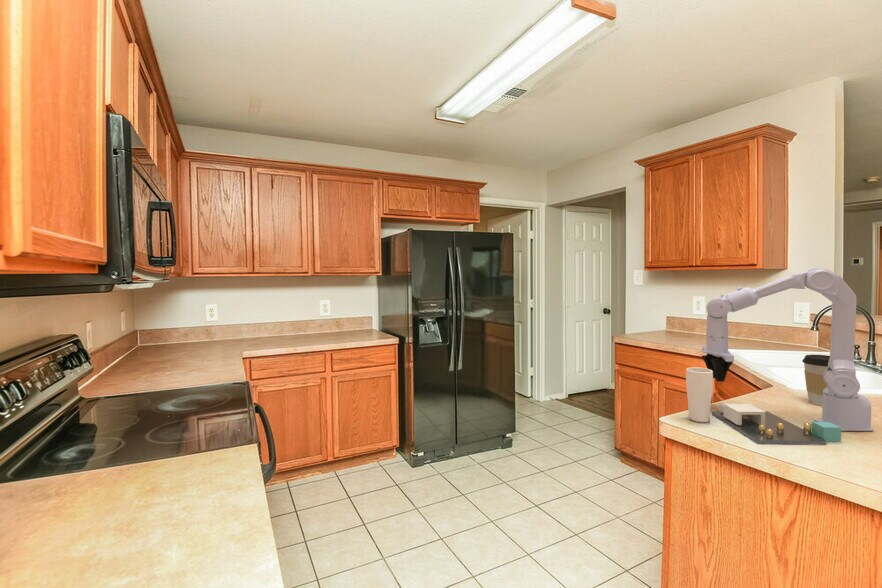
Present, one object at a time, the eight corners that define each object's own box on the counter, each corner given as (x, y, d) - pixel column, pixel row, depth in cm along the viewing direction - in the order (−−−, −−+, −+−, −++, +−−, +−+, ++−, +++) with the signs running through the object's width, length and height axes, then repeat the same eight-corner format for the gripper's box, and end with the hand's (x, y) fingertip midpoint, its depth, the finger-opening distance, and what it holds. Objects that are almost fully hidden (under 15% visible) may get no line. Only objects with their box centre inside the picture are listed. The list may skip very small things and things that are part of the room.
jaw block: (828, 436, 111) (828, 421, 111) (840, 443, 107) (841, 427, 107) (811, 436, 112) (811, 421, 111) (823, 442, 108) (824, 427, 107)
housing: (738, 410, 128) (738, 398, 128) (764, 425, 116) (765, 411, 116) (714, 410, 129) (714, 398, 129) (737, 425, 117) (737, 411, 117)
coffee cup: (838, 401, 138) (839, 355, 137) (846, 410, 130) (847, 361, 129) (798, 397, 144) (799, 353, 143) (804, 405, 135) (805, 358, 134)
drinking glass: (716, 424, 121) (717, 372, 120) (690, 423, 123) (691, 372, 122) (707, 416, 128) (707, 367, 127) (682, 415, 129) (682, 366, 128)
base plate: (767, 414, 128) (767, 403, 128) (826, 444, 106) (826, 431, 106) (711, 414, 130) (711, 403, 129) (757, 443, 108) (758, 430, 108)
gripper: (692, 333, 141) (692, 373, 141) (716, 340, 126) (715, 385, 127) (714, 333, 140) (714, 373, 141) (741, 340, 125) (741, 385, 126)
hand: (716, 379), depth 134 cm, fingers open, 3 cm apart
